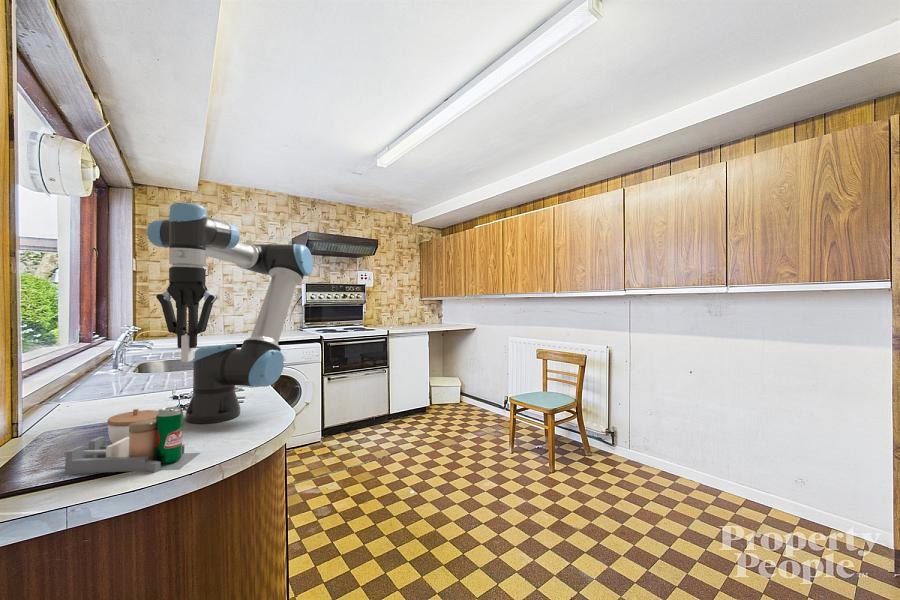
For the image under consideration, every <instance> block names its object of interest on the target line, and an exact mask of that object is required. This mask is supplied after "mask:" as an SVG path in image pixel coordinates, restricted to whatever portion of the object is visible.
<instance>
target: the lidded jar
mask: <svg viewBox="0 0 900 600" xmlns="http://www.w3.org/2000/svg"><path fill="white" fill-rule="evenodd" d="M157 414H158V410H155V409H154V410H151V409H150V410H148V409H143V410H139V409H138V408H134V409H133V410H132V411H127V412H124V413H119V414H115V415H113V416H111V417H109V418H108V419H107V434H108V437H109V441H110V442H111V444H113V443H115V442H117V441H120V440H122V439H124V438H126V437H129V424H130V423H133V422H136V421H140V420H147V419H156V415H157Z"/></svg>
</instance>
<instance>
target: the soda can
mask: <svg viewBox="0 0 900 600" xmlns="http://www.w3.org/2000/svg"><path fill="white" fill-rule="evenodd" d="M157 411H158V414H157V415H156V431H155V459H154V461H159V462H161V465H167V464H172V463H175V462H177V461H178V460H179V459H180V458H181V457H182V445H183V427H184V426H183V425H184V423H183V422H184V411H183V410H182V407H180V406H169V407H164V408H160V409H158V410H157Z"/></svg>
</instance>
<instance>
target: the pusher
mask: <svg viewBox="0 0 900 600" xmlns="http://www.w3.org/2000/svg"><path fill="white" fill-rule="evenodd" d="M108 445H109V446H107V447H106V450H89V449H84V456H88V455H99V454H106V458H114V457H129V437H126V438H124V439H122V440H120V441H117V442H115V443H111V444H108ZM66 451H67V450H66ZM66 451H65V452H64V456H65V457H66Z"/></svg>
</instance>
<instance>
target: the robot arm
mask: <svg viewBox="0 0 900 600" xmlns="http://www.w3.org/2000/svg"><path fill="white" fill-rule="evenodd" d="M207 216H208V215H207V209H206V208H205V207H204V206H203V205H200V204H196V203H193V202H191V203H190V202H174V203H172V204H170V206H169V215H168V218H167V219H166V218H165V219H158V220H157V219H156V220H153V221H151V222H150V223H149V224H148V226H147V228H146V229H147V230H146V235H147V239H148V241H149V242H150V243H151V244H152V245H154V246H155V247H158V248H168V249H169V251H168V260H169V261H168V264H169V265H171V266H170V267H168V281H169V282H168V283H169V284H168V286H167V288H166V291H164V292H162V293H159V294H157V295H156V299H157V301H158V302H159V303H160V306H161V309H162V313H163V317H164V321H165V323H166V328H167V332H168V333H170V334H175V335H176V336H177V338H176V339H177V341H176V342H177V348H178V349H181V350H180V351H181V352H180V353H181V354H180V355H181V356H180V358H181V359H180V361H181V363H189V362H192V361H193V362H192V363H193V371H192V374H193V377H192V380H193V381H192V383H193V384H192V386H193V387H192V388H193V389H192V397H191V398H190V401H189V404H188V406H187V408H186V411H185V416H184V417H185V420H184V421H185V422H187V423H191V424H212V423H218V422H219V423H220V422H225V421H228V420H231V419H235V418H238V417H239V416H240V415H241V404H240V401H239V400H238V396H237V394H236V386H239V387H253V388H260V387H262V388H263V387H264V388H265V387H269V386H272V385H273V384H275V383H276V382H277V381H278V380H279V379H280V377H281V375H282V373H283V371H284V367H285V362H284V361H285V356H284V355H283V353H282V349H281V347H280V345H279V341H280V337H281V335H282V333H283V329H284V324H285V322H286V319H287V316H288V312H289V309H290V306H291V303H292V300H293V297H294V294H295V290H296V287H297V286H299V285H301V284H302V282H303V279H304V277H308V276H310V275H311V274H312V273H313V269H314V260H313V256H312V253H311V251H310V249H309V248H308V247H307V246H306V245H304V244H296V243H294V244H281V243H279V244H278V243H277V244H274V243H273V244H272V243H268V244H264V243H263V244H260V243H259V244H255V243H251V242H240V237H241V236H240V231H239V229H238V228H237V227H236V225H234V224H233V223H229V222H228V221H225V220H224V221H223V220H218V219H215V218H212V217H207ZM207 257H209V258H213V259H217V260H219V261H220V260H221V261H224V262H228V263H232V264H235V266H237V267H238V268H240V269H243V270H246V271H249V272H250V271H251V272H254V273H258V274H260V275H265V276H270V278H271V279H270V282H269V285H268V288H267V291H266V294H265V296H264V299H263V301H262V304H261V306H260V309H259V312H258V316H257V318H256V321H255V324H254V327H253V329H252V332H251V336H250V337H248V338H246V339H245V340H243V342H242V345H241V348H238V347H237V344H236V343H232V344H230V343H229V344H221V345H211V346H204V347H198V334H201V333H204V332H206V330H207V327H208V323H209V320H210V317H211V312H212V309H213V305H214V303H215V302H216V300H217V299H218V295H216V294H213V293H211V292H209V290H208V288H207V286H206V280H207V279H206V277H207V276H206V275H207V274H206V272H207V271H206V269H205V268H204V267H206V265H207V260H206V258H207ZM203 299H204V302H203V305H202V309H201V312H200V315H199V307H200V302H201V301H202V300H203ZM171 300H174V301H175V308H176V314H175V310H174V307H173V304H172V301H171ZM187 311H188V312H187ZM187 315H188V316H187ZM187 319H188V320H187ZM187 322H188V323H187ZM187 327H188V329H187ZM197 347H198V348H197ZM195 348H197V349H196V350H195V352H194V349H195Z"/></svg>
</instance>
